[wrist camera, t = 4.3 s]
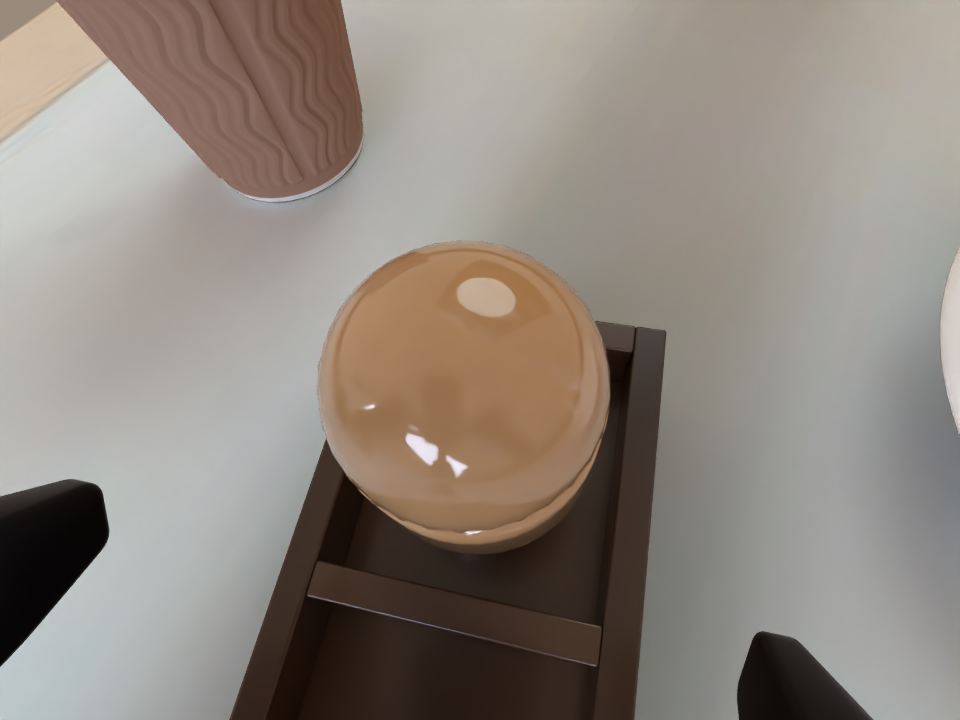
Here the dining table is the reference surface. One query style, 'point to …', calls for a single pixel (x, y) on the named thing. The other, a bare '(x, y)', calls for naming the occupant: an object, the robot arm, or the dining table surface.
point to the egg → (466, 394)
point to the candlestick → (951, 338)
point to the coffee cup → (242, 84)
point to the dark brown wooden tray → (470, 595)
